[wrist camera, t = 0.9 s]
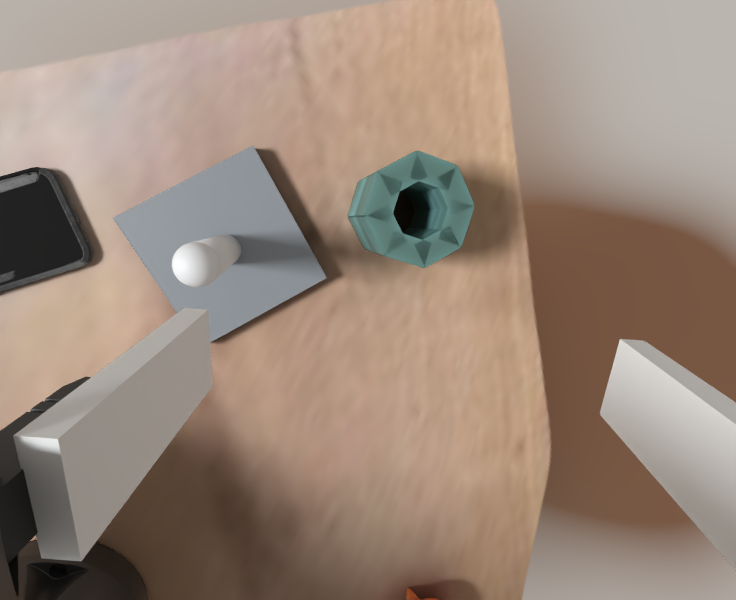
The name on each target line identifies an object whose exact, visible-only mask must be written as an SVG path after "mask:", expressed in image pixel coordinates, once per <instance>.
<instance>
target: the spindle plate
mask: <svg viewBox="0 0 736 600" xmlns="http://www.w3.org/2000/svg"><path fill="white" fill-rule="evenodd" d="M113 219H114V221H115V222H116V223H117V225H118V226H119V228H120V229H121V231H122V232H123V234H124V235H125V237H126V238H127V240H128V241H129V243H130V244H131V246H132V247H133V249H134V250H135V252H136V253H137V255H138V256H139V257H140V259H141V260H142V262H143V263H144V265H145V266H146V268H147V269H148V271H149V272H150V274H151V275H152V277H153V278H154V280H155V281H156V283H157V284H158V286H159V287H160V288H161V290H162V291H163V293H164V294H165V296H166V297H167V299H168V300H169V302H170V303H171V305H172V306H173V308H174V309H175V311H176V312H177V313H178V312H180V311H181V310H182V309H184V308H195V309H208V311H209V329H210V342H212V341H214V340H216V339H218V338H219V337H221V336H223V335H225V334H227V333H228V332H230V331H232V330H234V329H236V328H237V327H239V326H241V325H243V324H245V323H246V322H248V321H250V320H252V319H254V318H255V317H257V316H259V315H261V314H263V313H264V312H266V311H268V310H270V309H272V308H273V307H275V306H277V305H279V304H281V303H282V302H284V301H286V300H288V299H290V298H292V297H293V296H295V295H297V294H299V293H301V292H302V291H304V290H306V289H308V288H310V287H311V286H313V285H315V284H317V283H319V282H320V281H322V280H324V279H326V278H327V277H326V275H325V274H324V272H323V270H322V268H321V266H320V265H319V263H318V261H317V259H316V257H315V256H314V254H313V252H312V250H311V248H310V247H309V245H308V243H307V241H306V239H305V238H304V236H303V234H302V232H301V230H300V229H299V227H298V225H297V223H296V221H295V220H294V218H293V216H292V214H291V213H290V211H289V209H288V207H287V205H286V204H285V202H284V200H283V198H282V196H281V195H280V193H279V191H278V189H277V187H276V186H275V184H274V182H273V180H272V178H271V177H270V175H269V173H268V171H267V169H266V168H265V166H264V164H263V162H262V160H261V159H260V157H259V155H258V153H257V151H256V150H255V148H254V146H251V147H249V148H247V149H245V150H243V151H241V152H239V153H237V154H235V155H233V156H231V157H230V158H228V159H226V160H224V161H222V162H220V163H218V164H216V165H214V166H212V167H210V168H208V169H206V170H204V171H202V172H201V173H199V174H197V175H195V176H193V177H191V178H189V179H187V180H185V181H183V182H181V183H179V184H177V185H175V186H174V187H172V188H170V189H168V190H166V191H164V192H162V193H160V194H158V195H156V196H154V197H152V198H150V199H148V200H146V201H145V202H143V203H141V204H139V205H137V206H135V207H133V208H131V209H129V210H127V211H125V212H123V213H121V214H119V215H118V216H116V217H114V218H113Z"/></svg>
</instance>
